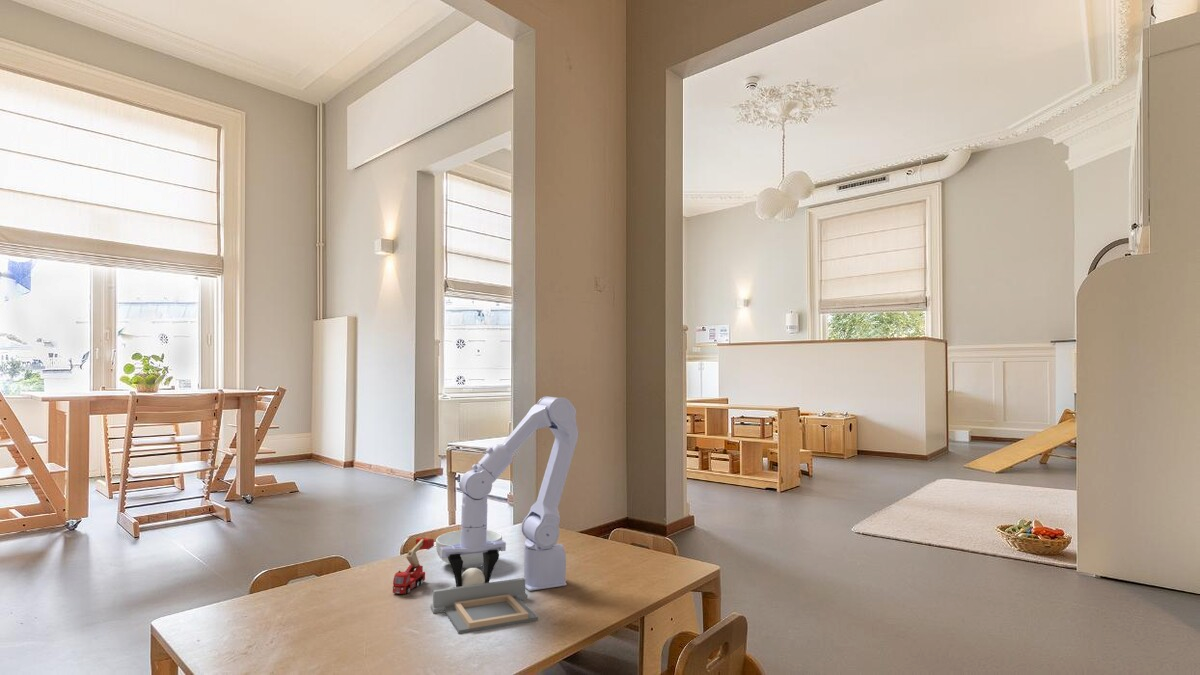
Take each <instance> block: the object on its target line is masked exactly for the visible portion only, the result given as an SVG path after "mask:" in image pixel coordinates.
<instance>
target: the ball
mask: <svg viewBox="0 0 1200 675" xmlns="http://www.w3.org/2000/svg"><path fill="white" fill-rule="evenodd" d="M482 583H485V576H484V574H483V571H482V570H481V569H479V568H478V567H477V568H468V569H465V571H462V586H468V585H475V584H482Z"/></svg>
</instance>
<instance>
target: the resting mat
mask: <svg viewBox="0 0 1200 675" xmlns="http://www.w3.org/2000/svg"><path fill="white" fill-rule="evenodd" d="M443 613H445V616H448V617H447V618H448V619H450V620H449V621H450V622H452V623H451V624H452V626H453V627H454V629H455V630H456V633H457V634H458V635H460V634H465V633H470V632H476V631H477V632H478V631H482V630H488V629H494V628H499V627H505V626H511V625H516V624H517V625H518V624H524V623H528V622H529V623H530V622H534V621H538V618H539V617H538V616H537V614H535V613H534V611H532V610H531V609H530V608H529V606H527V605H526V603H525V602H523V601H522V600H520V599H519V598H513V597H512V596H511V595H510V594H507V595H500V596H494V597H487V598H480V599H474V600H467V601H460V602H454V607H453V608H446V609H444V612H443Z"/></svg>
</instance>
